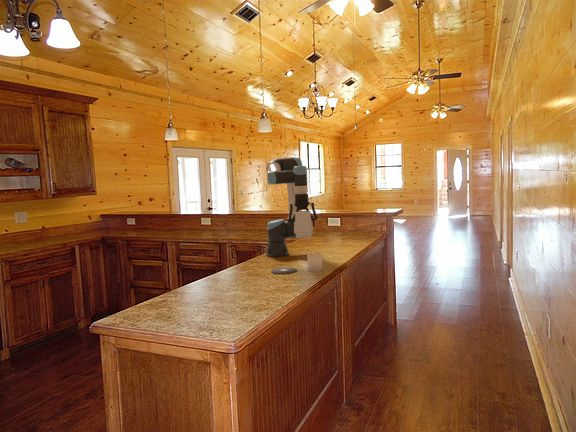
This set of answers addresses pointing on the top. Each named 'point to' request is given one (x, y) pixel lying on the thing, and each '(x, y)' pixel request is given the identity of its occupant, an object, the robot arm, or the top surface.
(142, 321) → the top surface
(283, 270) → the base disk
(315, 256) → the beige rounded cylinder
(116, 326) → the top surface
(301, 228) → the supplement box
